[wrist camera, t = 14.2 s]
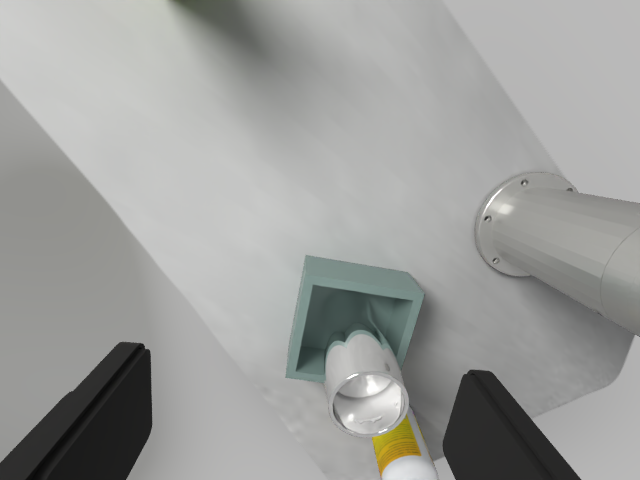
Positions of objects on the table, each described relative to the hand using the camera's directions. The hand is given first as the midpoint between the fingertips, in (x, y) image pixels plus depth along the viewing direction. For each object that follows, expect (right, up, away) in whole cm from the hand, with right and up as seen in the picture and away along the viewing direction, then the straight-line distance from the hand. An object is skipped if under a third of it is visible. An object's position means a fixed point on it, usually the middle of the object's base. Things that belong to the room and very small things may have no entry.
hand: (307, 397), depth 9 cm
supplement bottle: (+11, -21, +37) cm, 44 cm away
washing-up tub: (+4, -4, +31) cm, 32 cm away
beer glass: (+4, -4, +31) cm, 31 cm away
